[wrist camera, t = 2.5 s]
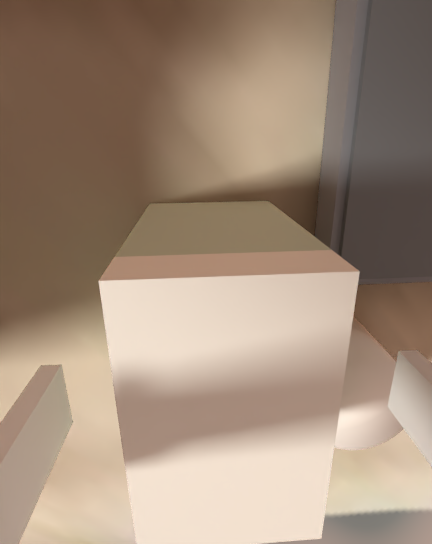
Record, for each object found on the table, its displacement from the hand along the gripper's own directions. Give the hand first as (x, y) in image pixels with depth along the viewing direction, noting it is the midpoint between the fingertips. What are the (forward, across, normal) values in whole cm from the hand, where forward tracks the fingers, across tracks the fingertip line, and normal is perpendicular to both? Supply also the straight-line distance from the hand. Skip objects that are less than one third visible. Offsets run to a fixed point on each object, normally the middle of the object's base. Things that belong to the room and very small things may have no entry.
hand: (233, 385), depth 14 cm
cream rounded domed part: (+10, +8, -5) cm, 13 cm away
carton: (+9, 0, 0) cm, 9 cm away
